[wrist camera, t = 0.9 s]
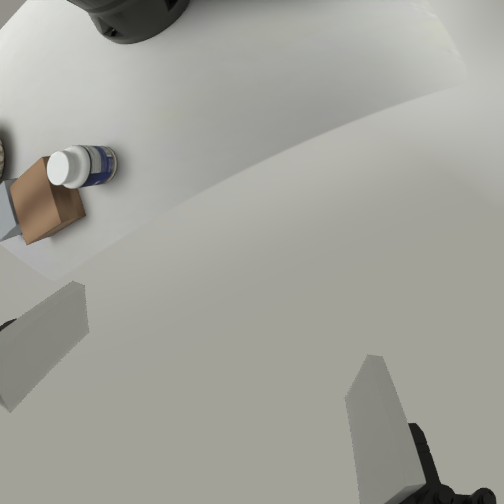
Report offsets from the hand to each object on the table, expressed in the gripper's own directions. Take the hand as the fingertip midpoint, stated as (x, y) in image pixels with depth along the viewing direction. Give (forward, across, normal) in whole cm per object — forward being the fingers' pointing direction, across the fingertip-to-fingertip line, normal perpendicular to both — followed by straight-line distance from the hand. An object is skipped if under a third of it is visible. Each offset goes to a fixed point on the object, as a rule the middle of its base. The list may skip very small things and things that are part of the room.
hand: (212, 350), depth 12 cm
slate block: (+25, -43, -5) cm, 50 cm away
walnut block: (+25, -33, -2) cm, 41 cm away
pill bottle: (+25, -24, +4) cm, 35 cm away
